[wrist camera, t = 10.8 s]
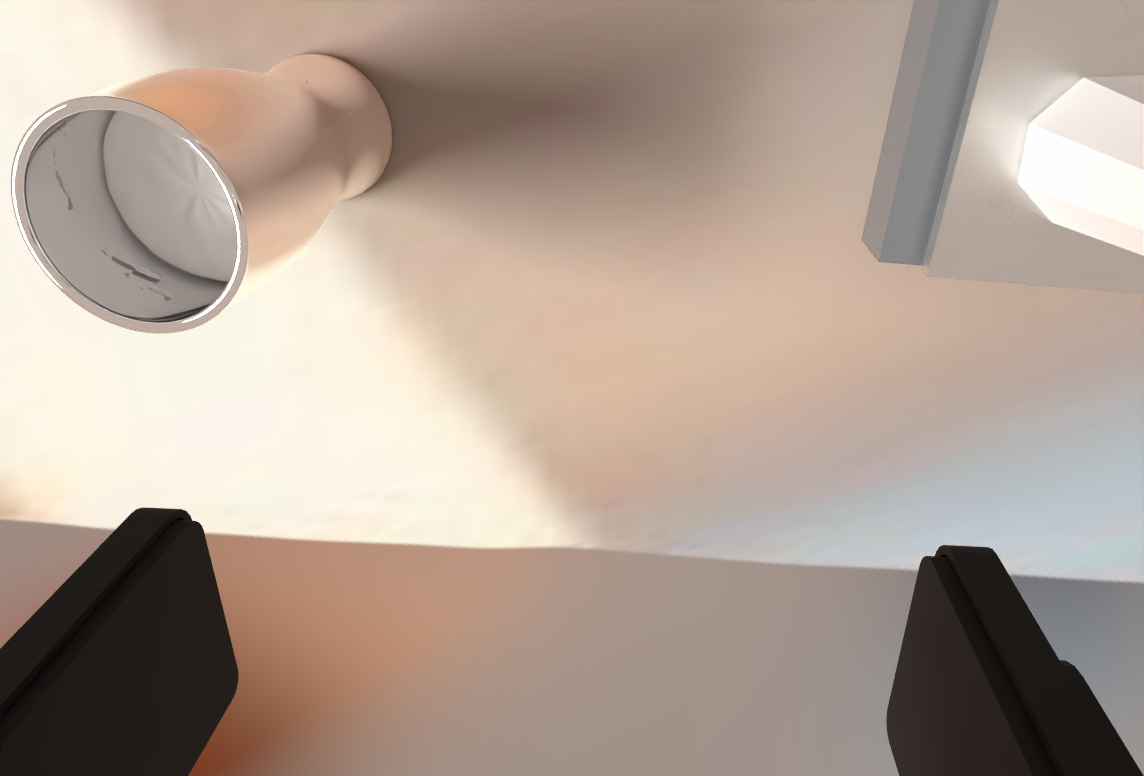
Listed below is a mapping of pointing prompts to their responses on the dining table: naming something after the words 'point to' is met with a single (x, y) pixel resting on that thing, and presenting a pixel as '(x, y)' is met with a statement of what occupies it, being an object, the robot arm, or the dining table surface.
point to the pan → (997, 141)
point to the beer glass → (193, 184)
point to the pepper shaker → (1091, 160)
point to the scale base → (922, 126)
